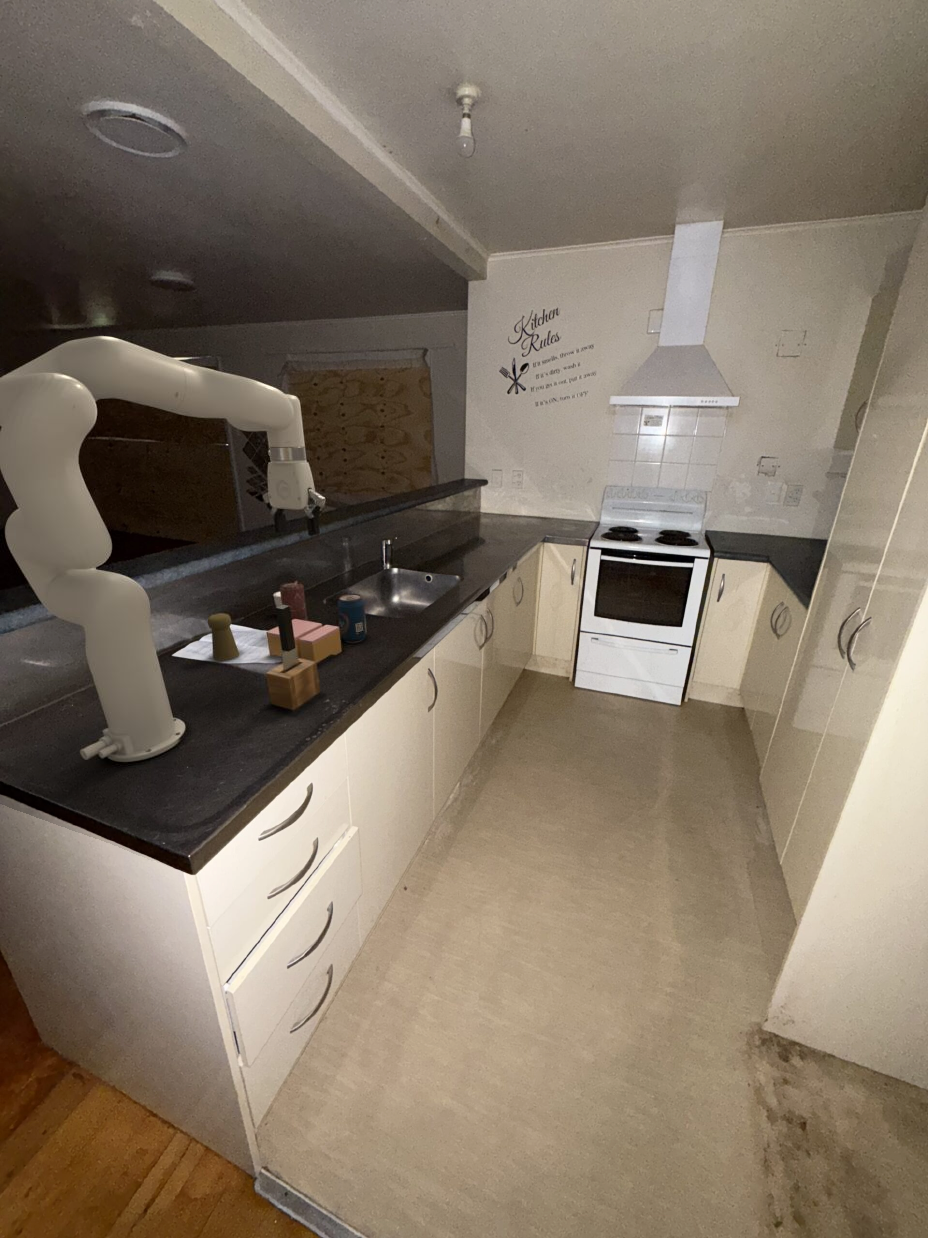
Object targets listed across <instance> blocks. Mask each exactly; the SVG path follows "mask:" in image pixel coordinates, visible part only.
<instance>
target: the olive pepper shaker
mask: <svg viewBox="0 0 928 1238" xmlns="http://www.w3.org/2000/svg"><path fill="white" fill-rule="evenodd" d="M231 625H232V618H231V616H230V615H229V614H227V613H224V612H223V613H221V612H220V613H215V614H212V615H210V616H208V618H207V626H208V628H209V629H210V630H211V645H212V659H213V661H216V662H226V661H231V660H234V659H236V658H238V657H239V656H240V650H239V649H238V646H237V643H236V640H235V637H234V633H233V632H232V629H231Z"/></svg>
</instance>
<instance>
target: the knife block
mask: <svg viewBox="0 0 928 1238" xmlns="http://www.w3.org/2000/svg"><path fill="white" fill-rule="evenodd" d="M298 660H299V665H298V666H296V667H295V668H293V669H291V670H289V671H288V672H286V673H284V669H283V662H281V663H280V664H278V665H277V666H275V667H274V668H272V669H269V670H268V671H266V672H265V677H266V683H267V689H268V690H267V691H268V695H269V702H270V704H271V705H274V706H277V707H280V708H284V709H288V710H291V711H295V710H296V709H297V708H299V707H300V706H302V705H303V704H304V703H306V702H307V701H309V700H311V699H312V698H314V697H315V696H317V695H318V694H319V693H321V686H320V679H319V678H320V677H319V670H318V663H316V662H314V661H310V660H305V659H302V658H298Z"/></svg>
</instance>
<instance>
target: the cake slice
mask: <svg viewBox="0 0 928 1238" xmlns="http://www.w3.org/2000/svg"><path fill="white" fill-rule="evenodd" d="M299 643H300V650H301V657H302V658H301V659H305V660H310V661H314V662H316V663H317V664H318V663H320V662H321V661H323V660H324V659H326V658H327V657H329V656H331V655H333V656H336V655H339V654H340V653H342V640H341V633H340V626H335V625H331V624H325V625H322V627H321V628H319V629H317V630H315V631H313V632H311V633H309V634H307V635H305V636H304V637H302V638H300V639H299Z"/></svg>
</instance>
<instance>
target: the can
mask: <svg viewBox="0 0 928 1238" xmlns="http://www.w3.org/2000/svg"><path fill="white" fill-rule="evenodd" d="M279 592H280V594H281V601H282V605H287V606H290V611H291V618H292V620H293V619H299V620H304V621H309V620H308V612H307V605H306V604H307V603H306V598H305V589H304V585H303V584H302V582H300V581H298V580H294V581H286V582H283V583H281V584H280V587H279Z"/></svg>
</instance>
